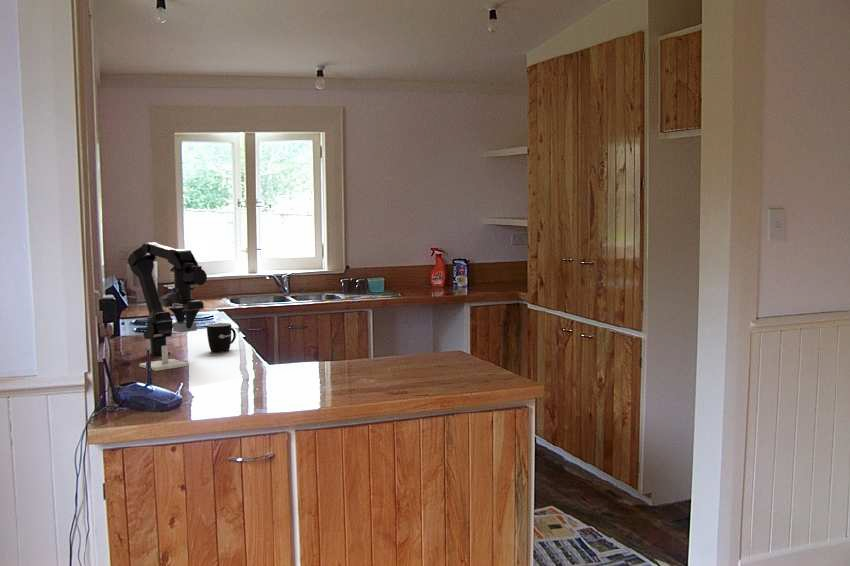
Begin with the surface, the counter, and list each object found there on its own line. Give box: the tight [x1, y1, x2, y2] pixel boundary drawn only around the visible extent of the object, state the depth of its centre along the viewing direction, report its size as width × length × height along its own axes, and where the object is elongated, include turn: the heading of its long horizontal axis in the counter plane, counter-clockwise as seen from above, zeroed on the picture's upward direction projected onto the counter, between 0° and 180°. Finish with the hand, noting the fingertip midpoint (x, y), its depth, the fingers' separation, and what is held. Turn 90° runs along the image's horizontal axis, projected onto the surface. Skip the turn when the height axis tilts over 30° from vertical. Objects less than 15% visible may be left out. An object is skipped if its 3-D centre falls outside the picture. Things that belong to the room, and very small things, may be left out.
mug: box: [206, 322, 237, 354], centre depth 309 cm, size 12×9×10 cm
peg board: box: [139, 345, 190, 372], centre depth 279 cm, size 12×12×7 cm
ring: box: [172, 320, 198, 333], centre depth 293 cm, size 6×6×3 cm
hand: (184, 327), depth 293 cm, fingers closed on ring, 6 cm apart
